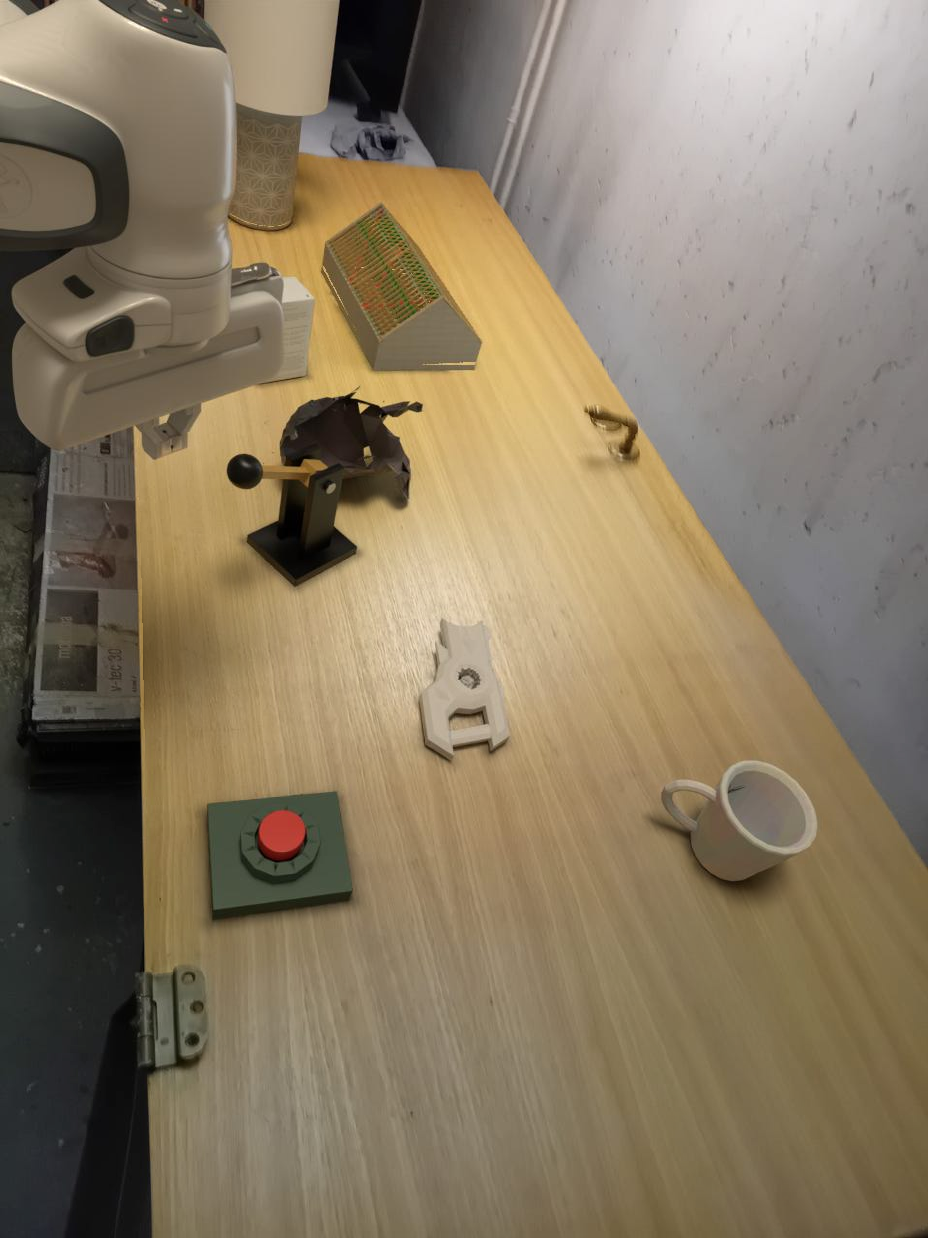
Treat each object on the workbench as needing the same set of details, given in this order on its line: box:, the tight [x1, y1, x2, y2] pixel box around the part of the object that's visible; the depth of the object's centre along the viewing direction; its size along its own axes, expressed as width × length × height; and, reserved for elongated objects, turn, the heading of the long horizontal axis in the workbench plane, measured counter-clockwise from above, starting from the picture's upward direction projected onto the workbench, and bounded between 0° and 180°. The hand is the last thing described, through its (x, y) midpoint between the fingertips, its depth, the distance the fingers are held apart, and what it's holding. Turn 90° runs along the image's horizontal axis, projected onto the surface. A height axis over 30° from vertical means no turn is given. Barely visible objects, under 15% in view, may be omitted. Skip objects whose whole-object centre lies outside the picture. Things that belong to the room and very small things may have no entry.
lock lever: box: [226, 453, 328, 490], centre depth 88 cm, size 14×4×4 cm, turn 138°
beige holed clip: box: [418, 617, 511, 761], centre depth 92 cm, size 18×4×10 cm
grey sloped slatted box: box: [320, 201, 484, 372], centre depth 138 cm, size 30×19×13 cm, turn 23°
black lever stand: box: [246, 443, 358, 587], centre depth 97 cm, size 10×9×14 cm
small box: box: [259, 275, 316, 385], centre depth 120 cm, size 8×6×13 cm
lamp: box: [203, 0, 340, 232], centre depth 140 cm, size 21×21×42 cm
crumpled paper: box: [262, 384, 424, 500], centre depth 106 cm, size 14×15×20 cm
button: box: [258, 810, 305, 861], centre depth 72 cm, size 4×4×2 cm
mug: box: [660, 759, 819, 882], centre depth 85 cm, size 10×15×10 cm
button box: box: [206, 790, 354, 920], centre depth 74 cm, size 12×10×4 cm
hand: (165, 449), depth 64 cm, fingers closed
